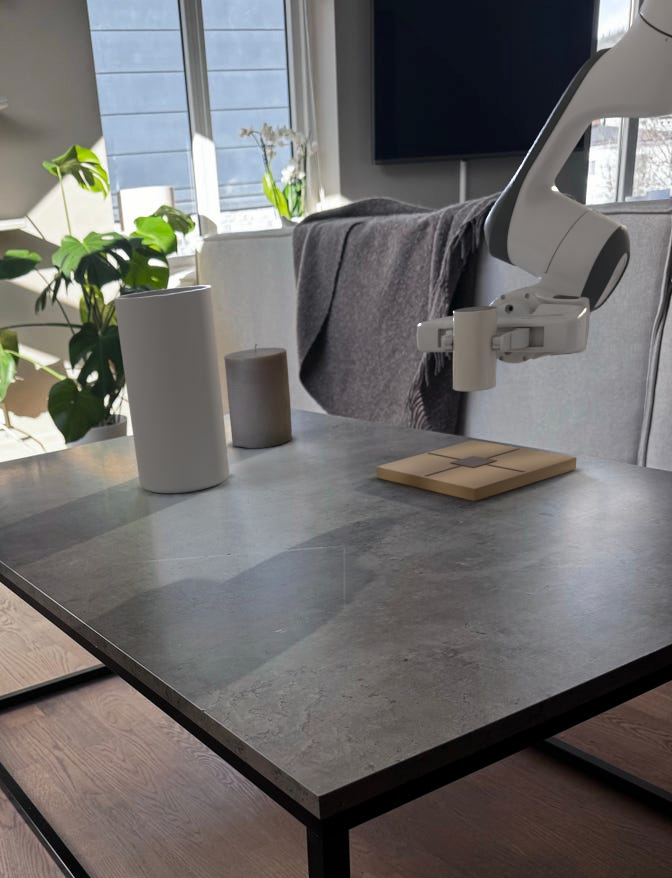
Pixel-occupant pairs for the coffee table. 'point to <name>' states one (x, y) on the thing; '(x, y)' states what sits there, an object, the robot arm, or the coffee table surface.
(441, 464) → the game board
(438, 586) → the coffee table surface
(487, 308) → the white cylinder
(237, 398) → the pillar candle
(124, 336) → the cylinder vase
